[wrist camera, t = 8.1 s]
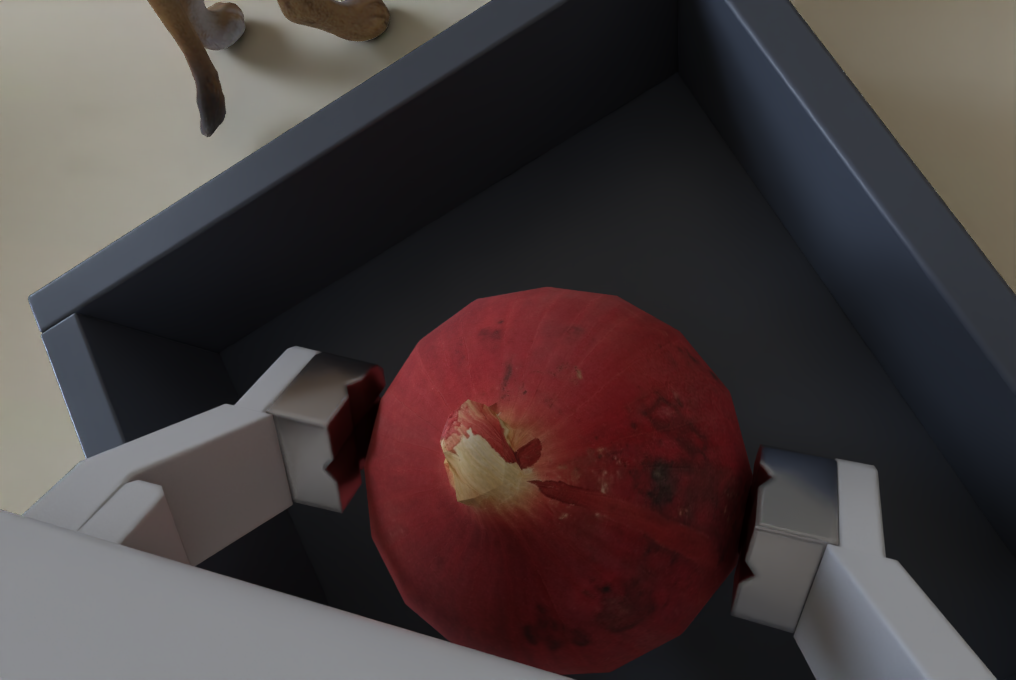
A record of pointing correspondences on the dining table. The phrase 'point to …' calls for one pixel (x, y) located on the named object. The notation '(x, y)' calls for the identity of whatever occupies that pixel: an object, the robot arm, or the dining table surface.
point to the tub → (591, 282)
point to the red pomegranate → (557, 480)
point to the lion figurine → (224, 25)
